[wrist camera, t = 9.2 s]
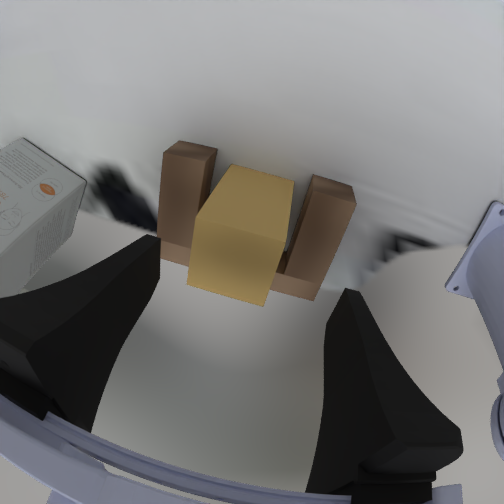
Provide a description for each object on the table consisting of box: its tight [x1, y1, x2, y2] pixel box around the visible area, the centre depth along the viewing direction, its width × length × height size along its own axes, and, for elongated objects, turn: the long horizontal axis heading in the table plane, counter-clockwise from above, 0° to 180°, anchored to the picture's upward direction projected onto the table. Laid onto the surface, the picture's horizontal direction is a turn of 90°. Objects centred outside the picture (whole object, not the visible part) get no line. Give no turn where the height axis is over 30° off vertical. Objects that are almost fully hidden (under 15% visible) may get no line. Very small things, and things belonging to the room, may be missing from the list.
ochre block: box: [187, 164, 294, 307], centre depth 18 cm, size 4×4×7 cm
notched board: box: [157, 141, 357, 301], centre depth 20 cm, size 11×8×2 cm
